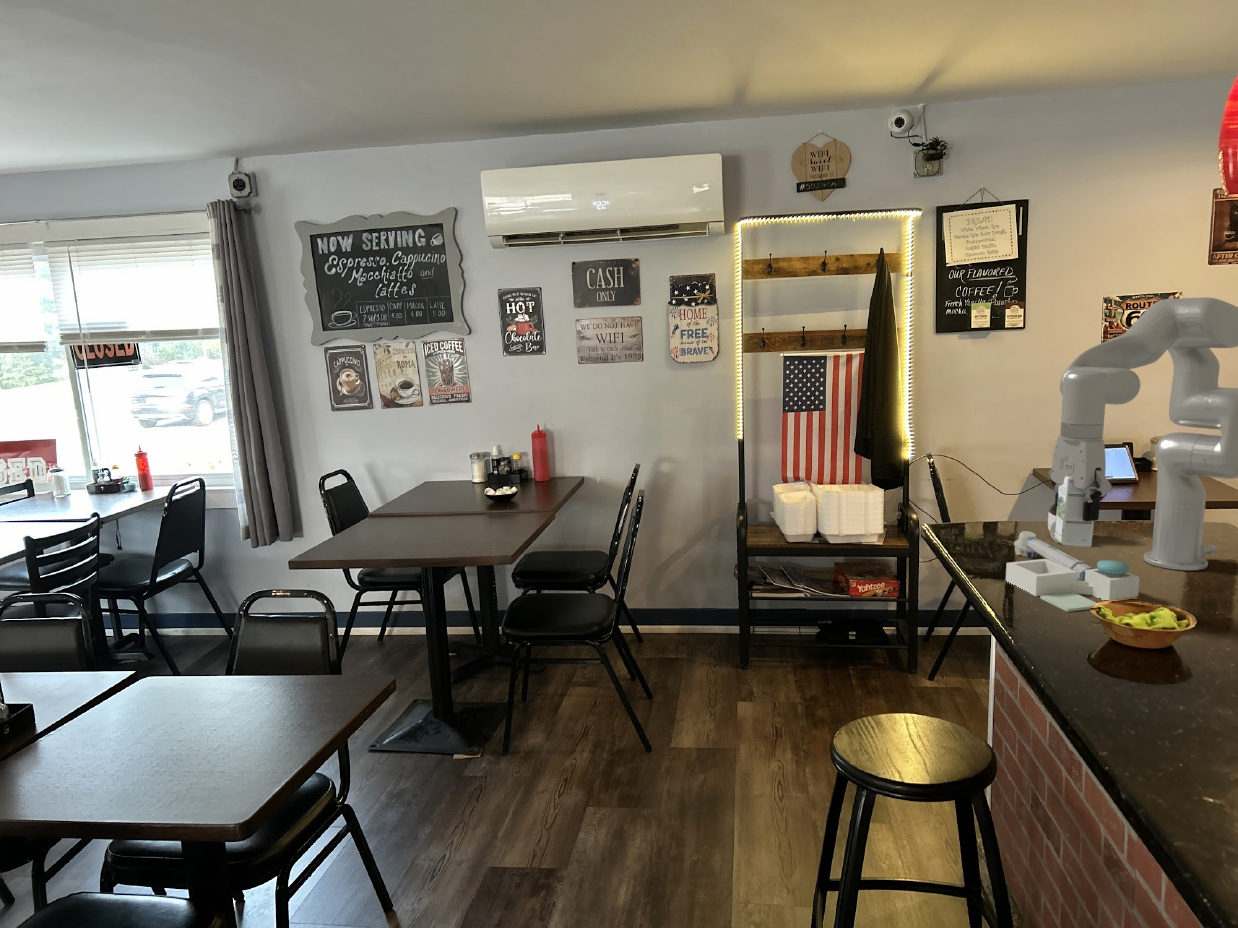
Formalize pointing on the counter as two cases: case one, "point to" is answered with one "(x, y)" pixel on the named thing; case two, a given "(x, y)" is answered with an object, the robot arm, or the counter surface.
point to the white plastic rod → (1048, 553)
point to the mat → (1069, 601)
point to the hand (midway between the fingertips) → (1075, 515)
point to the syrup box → (1072, 516)
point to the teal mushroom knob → (1112, 568)
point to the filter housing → (1069, 580)
